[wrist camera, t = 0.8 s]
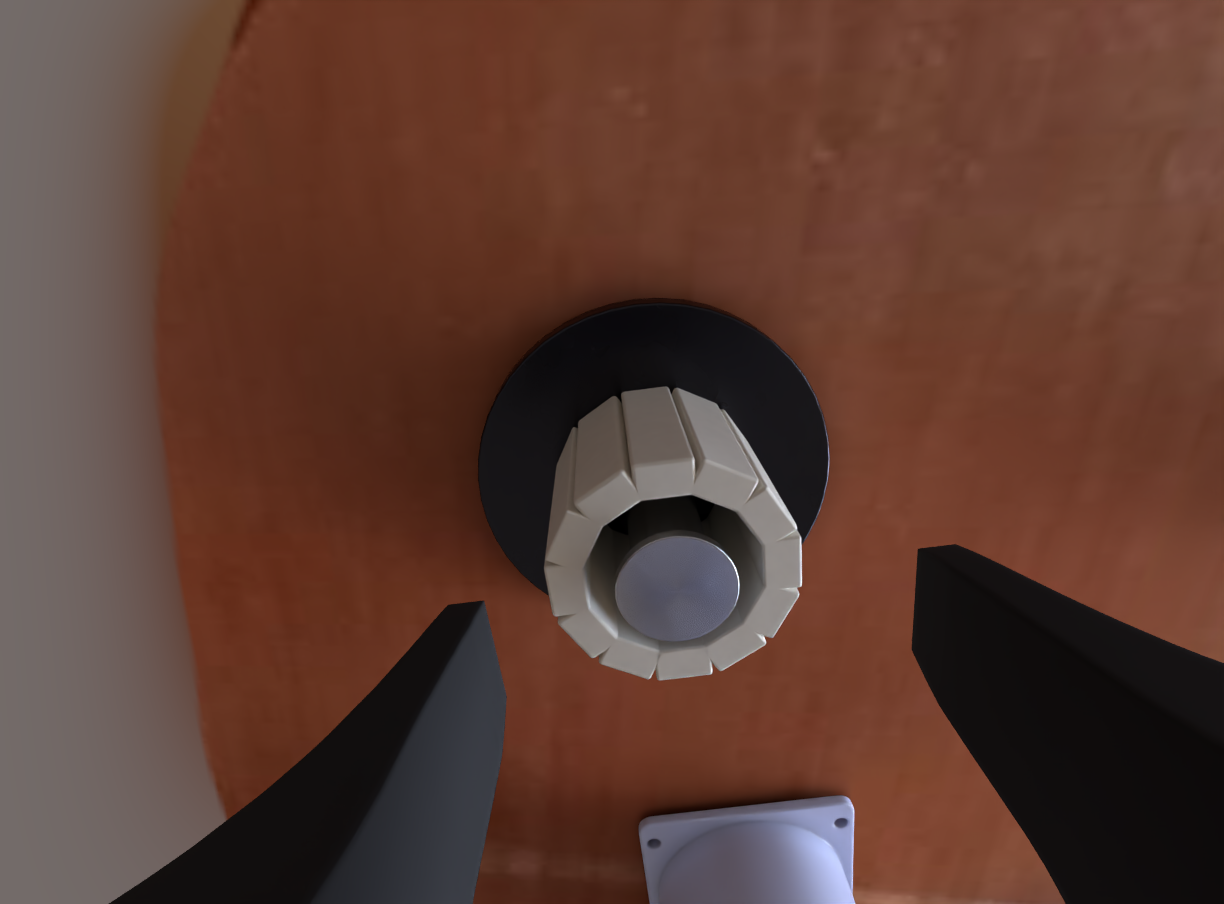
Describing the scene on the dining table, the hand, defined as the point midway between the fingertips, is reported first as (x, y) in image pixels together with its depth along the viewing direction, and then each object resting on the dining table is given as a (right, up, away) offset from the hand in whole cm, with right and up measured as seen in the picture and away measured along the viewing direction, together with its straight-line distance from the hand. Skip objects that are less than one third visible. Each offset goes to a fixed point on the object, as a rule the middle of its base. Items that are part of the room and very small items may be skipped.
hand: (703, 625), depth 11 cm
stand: (0, +2, +9) cm, 9 cm away
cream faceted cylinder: (0, +2, +8) cm, 8 cm away
